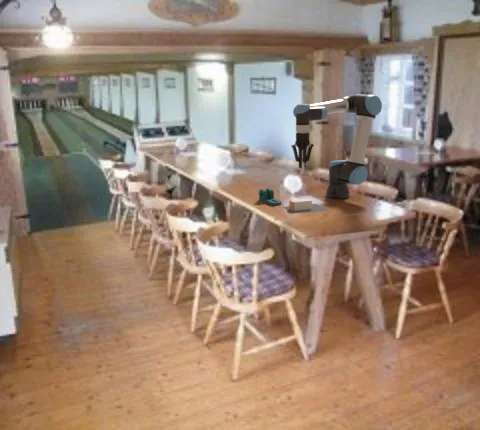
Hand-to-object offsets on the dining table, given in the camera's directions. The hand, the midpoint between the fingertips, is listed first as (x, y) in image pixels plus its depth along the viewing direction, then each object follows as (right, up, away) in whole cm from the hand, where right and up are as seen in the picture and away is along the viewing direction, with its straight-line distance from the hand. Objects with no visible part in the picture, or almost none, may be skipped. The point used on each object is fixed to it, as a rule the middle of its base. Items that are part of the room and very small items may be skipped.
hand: (302, 173), depth 299 cm
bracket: (-17, -17, +22) cm, 32 cm away
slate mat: (+2, -20, +6) cm, 21 cm away
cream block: (+5, -17, +6) cm, 19 cm away
